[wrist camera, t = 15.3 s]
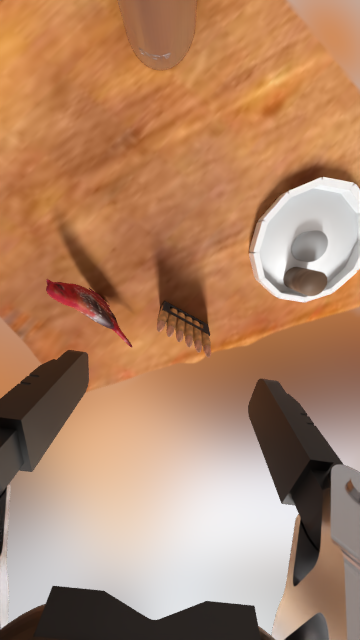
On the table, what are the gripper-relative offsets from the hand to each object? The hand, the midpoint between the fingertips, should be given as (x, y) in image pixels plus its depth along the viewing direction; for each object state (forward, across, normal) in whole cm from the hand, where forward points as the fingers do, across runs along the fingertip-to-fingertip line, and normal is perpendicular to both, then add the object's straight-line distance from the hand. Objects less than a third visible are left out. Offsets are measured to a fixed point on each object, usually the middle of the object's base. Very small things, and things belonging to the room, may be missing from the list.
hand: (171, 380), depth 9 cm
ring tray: (+30, -21, -9) cm, 38 cm away
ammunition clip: (+30, -2, +8) cm, 31 cm away
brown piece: (+30, -21, -3) cm, 36 cm away
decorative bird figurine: (+30, +14, +8) cm, 34 cm away
